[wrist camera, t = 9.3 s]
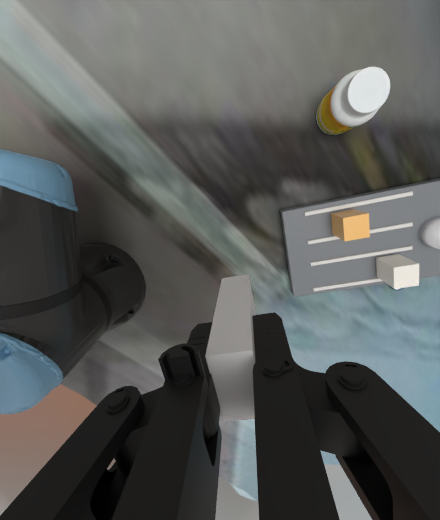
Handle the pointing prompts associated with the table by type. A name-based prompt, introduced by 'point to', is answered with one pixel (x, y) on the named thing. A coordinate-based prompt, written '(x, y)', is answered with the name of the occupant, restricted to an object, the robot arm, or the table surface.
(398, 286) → the slider ivory
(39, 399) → the robot arm
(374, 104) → the supplement bottle
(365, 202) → the console
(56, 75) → the table surface
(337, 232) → the slider orange
